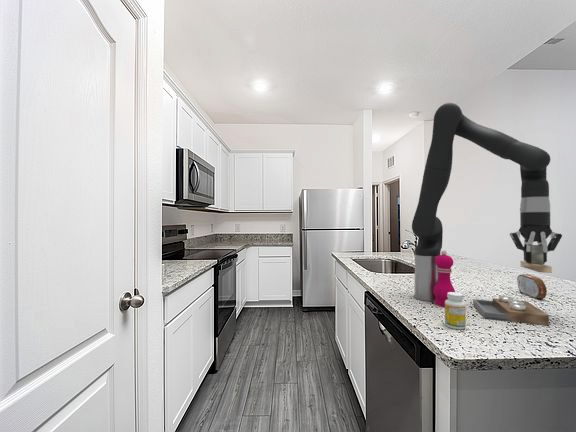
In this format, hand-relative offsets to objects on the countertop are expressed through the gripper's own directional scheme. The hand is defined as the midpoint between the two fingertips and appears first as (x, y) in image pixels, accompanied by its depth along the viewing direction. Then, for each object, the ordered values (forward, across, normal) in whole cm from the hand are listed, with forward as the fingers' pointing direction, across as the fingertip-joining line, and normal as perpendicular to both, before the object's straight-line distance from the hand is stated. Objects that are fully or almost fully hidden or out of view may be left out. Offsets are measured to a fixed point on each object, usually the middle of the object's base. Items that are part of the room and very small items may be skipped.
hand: (535, 263), depth 94 cm
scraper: (+2, 0, 0) cm, 2 cm away
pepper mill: (+17, -26, +2) cm, 32 cm away
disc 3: (+14, -7, -6) cm, 17 cm away
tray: (+17, -14, -2) cm, 22 cm away
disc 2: (+14, -6, -2) cm, 15 cm away
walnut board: (+17, -6, -2) cm, 18 cm away
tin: (+17, +9, +29) cm, 35 cm away
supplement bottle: (+17, -27, -20) cm, 38 cm away
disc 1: (+14, -7, +2) cm, 16 cm away
